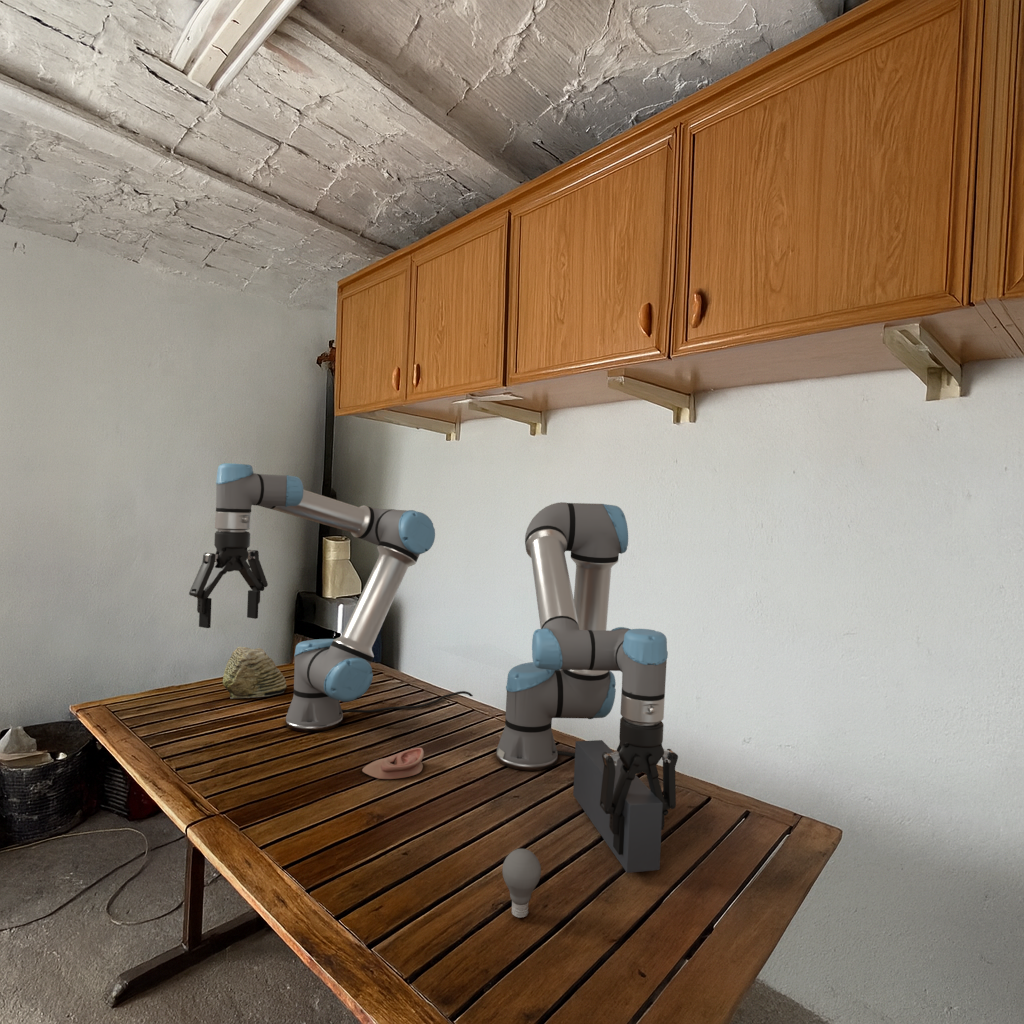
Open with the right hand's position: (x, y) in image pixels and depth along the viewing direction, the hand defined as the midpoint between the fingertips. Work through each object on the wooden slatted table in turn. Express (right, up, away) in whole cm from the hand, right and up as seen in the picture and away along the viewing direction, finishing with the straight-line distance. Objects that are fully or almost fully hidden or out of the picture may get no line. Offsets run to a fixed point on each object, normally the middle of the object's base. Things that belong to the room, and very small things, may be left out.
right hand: (635, 848), depth 112 cm
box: (-3, -2, +11) cm, 11 cm away
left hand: (-87, +34, +34) cm, 100 cm away
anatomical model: (-50, -1, +36) cm, 62 cm away
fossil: (-102, +2, +86) cm, 134 cm away
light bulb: (-21, -3, -14) cm, 25 cm away
